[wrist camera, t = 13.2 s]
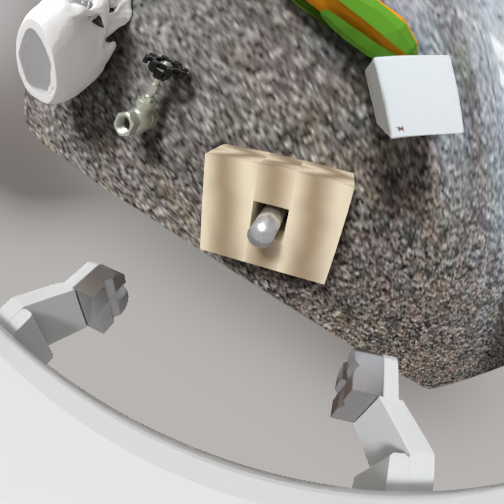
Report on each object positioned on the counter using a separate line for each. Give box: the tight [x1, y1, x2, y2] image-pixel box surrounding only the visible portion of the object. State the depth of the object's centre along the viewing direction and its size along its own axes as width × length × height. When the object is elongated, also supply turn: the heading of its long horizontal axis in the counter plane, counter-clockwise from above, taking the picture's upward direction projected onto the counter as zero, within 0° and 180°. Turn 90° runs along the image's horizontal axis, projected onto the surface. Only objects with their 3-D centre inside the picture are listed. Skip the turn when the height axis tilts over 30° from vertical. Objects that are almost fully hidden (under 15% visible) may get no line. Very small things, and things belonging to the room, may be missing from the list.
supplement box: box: [365, 55, 464, 139], centre depth 24 cm, size 7×7×13 cm
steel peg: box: [247, 204, 288, 248], centre depth 38 cm, size 3×3×10 cm
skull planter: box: [16, 0, 132, 104], centre depth 30 cm, size 14×20×19 cm
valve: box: [114, 53, 189, 136], centre depth 35 cm, size 7×7×12 cm
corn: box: [292, 0, 418, 59], centre depth 22 cm, size 7×8×20 cm
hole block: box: [200, 144, 354, 284], centre depth 39 cm, size 18×14×6 cm
